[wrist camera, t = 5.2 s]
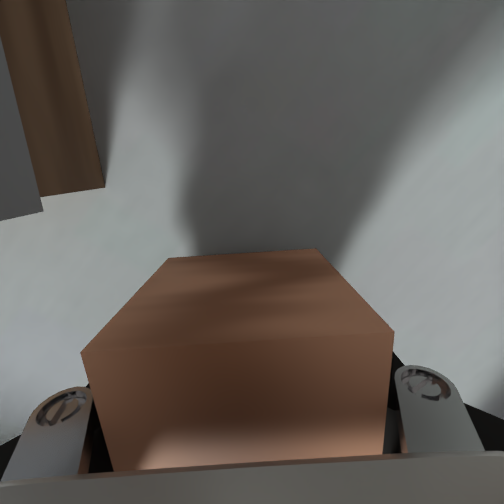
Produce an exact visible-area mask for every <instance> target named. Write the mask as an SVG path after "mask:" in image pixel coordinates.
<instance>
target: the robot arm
mask: <svg viewBox="0 0 504 504" xmlns="http://www.w3.org/2000/svg"><path fill="white" fill-rule="evenodd" d="M0 504H504V420H503V419H500V418H498V417H496V416H493V415H491V414H489V413H486V412H484V411H481V410H479V409H477V408H474V407H472V406H470V405H467V404H465V403H463V401H462V399H461V397H460V394H459V392H458V390H457V388H456V387H455V385H454V384H453V383H452V382H451V381H450V380H449V379H448V378H447V377H445V376H444V375H442V374H440V373H439V372H437V371H434V370H432V369H430V368H426V367H422V366H416V365H407V366H405V365H404V364H403V363H402V362H401V361H400V359H399V358H398V357H397V356H396V355H395V353H394V352H392V362H391V372H390V382H389V392H388V402H387V412H386V422H385V432H384V442H383V452H382V454H379V455H362V456H345V457H328V458H311V459H295V460H279V461H264V462H248V463H233V464H218V465H203V466H188V467H173V468H159V469H145V470H131V471H118V472H114V470H113V466H112V463H111V459H110V456H109V452H108V449H107V445H106V442H105V438H104V435H103V431H102V427H101V424H100V420H99V417H98V413H97V410H96V406H95V403H94V399H93V396H92V392H91V388H90V385H89V383H88V385H87V386H86V387H73V388H68V389H66V390H63V391H60V392H58V393H56V394H54V395H53V396H51V397H49V398H48V399H46V400H45V401H44V402H42V403H41V404H40V405H39V406H38V407H37V408H36V409H35V410H34V411H33V413H32V414H31V416H30V417H29V419H28V421H27V424H26V426H25V428H24V430H23V432H22V434H21V435H19V436H17V437H16V438H14V439H12V440H10V441H8V442H6V443H5V444H3V445H1V446H0Z"/></svg>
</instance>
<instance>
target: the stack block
mask: <svg viewBox="0 0 504 504" xmlns="http://www.w3.org/2000/svg"><path fill="white" fill-rule="evenodd" d="M393 342H394V331H393V330H392V329H391V328H390V327H389V325H388V324H387V323H386V322H385V321H384V320H383V319H382V318H381V317H380V316H379V315H378V314H377V313H376V312H375V311H374V310H373V308H372V307H371V306H370V305H369V304H368V303H367V302H366V301H365V300H364V299H363V298H362V297H361V296H360V295H359V294H358V293H357V292H356V290H355V289H354V288H353V287H352V286H351V285H350V284H349V283H348V282H347V281H346V280H345V279H344V278H343V277H342V276H341V275H340V274H339V272H338V271H337V270H336V269H335V268H334V267H333V266H332V265H331V264H330V263H329V262H328V261H327V260H326V259H325V258H324V257H323V255H322V254H321V253H320V252H319V251H318V250H317V249H316V248H315V249H299V250H284V251H268V252H253V253H237V254H222V255H207V256H191V257H176V258H168V259H167V260H166V261H165V262H164V263H163V265H162V266H161V267H160V268H159V269H158V270H157V271H156V272H155V273H154V274H153V275H152V276H151V277H150V278H149V279H148V281H147V282H146V283H145V284H144V285H143V286H142V287H141V288H140V289H139V290H138V291H137V292H136V293H135V294H134V296H133V297H132V298H131V299H130V300H129V301H128V302H127V303H126V304H125V305H124V306H123V307H122V308H121V309H120V310H119V312H118V313H117V314H116V315H115V316H114V317H113V318H112V319H111V320H110V321H109V322H108V323H107V324H106V325H105V327H104V328H103V329H102V330H101V331H100V332H99V333H98V334H97V335H96V336H95V337H94V338H93V339H92V340H91V341H90V343H89V344H88V345H87V346H86V347H85V348H84V349H83V350H82V351H81V352H80V353H81V357H82V360H83V364H84V367H85V371H86V374H87V378H88V381H89V385H90V388H91V392H92V396H93V399H94V403H95V406H96V410H97V413H98V417H99V420H100V424H101V427H102V431H103V435H104V438H105V442H106V445H107V449H108V452H109V456H110V459H111V463H112V466H113V470H114V472H118V471H131V470H145V469H159V468H173V467H188V466H203V465H218V464H233V463H248V462H264V461H279V460H295V459H311V458H328V457H345V456H362V455H379V454H382V452H383V442H384V432H385V422H386V412H387V402H388V392H389V382H390V372H391V362H392V352H393Z"/></svg>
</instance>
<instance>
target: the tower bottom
mask: <svg viewBox="0 0 504 504" xmlns="http://www.w3.org/2000/svg"><path fill="white" fill-rule="evenodd" d="M0 37H1V41H2V45H3V49H4V53H5V57H6V61H7V65H8V70H9V74H10V78H11V82H12V86H13V90H14V94H15V98H16V102H17V106H18V110H19V114H20V118H21V122H22V126H23V130H24V134H25V138H26V142H27V146H28V150H29V154H30V158H31V162H32V167H33V171H34V175H35V179H36V183H37V187H38V191H39V195H40V197H44V196H51V195H58V194H65V193H71V192H78V191H85V190H91V189H98V188H105V184H104V179H103V175H102V170H101V165H100V161H99V156H98V151H97V146H96V142H95V137H94V132H93V128H92V123H91V118H90V114H89V109H88V104H87V99H86V95H85V90H84V85H83V81H82V76H81V71H80V67H79V62H78V57H77V52H76V48H75V43H74V38H73V34H72V29H71V24H70V19H69V15H68V10H67V5H66V1H65V0H0Z"/></svg>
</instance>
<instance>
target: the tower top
mask: <svg viewBox="0 0 504 504" xmlns="http://www.w3.org/2000/svg"><path fill="white" fill-rule="evenodd" d="M38 212H43V207H42V203H41V199H40V195H39V191H38V187H37V183H36V179H35V175H34V171H33V167H32V162H31V158H30V154H29V150H28V146H27V142H26V138H25V134H24V130H23V126H22V122H21V118H20V114H19V110H18V106H17V102H16V98H15V94H14V90H13V86H12V82H11V78H10V74H9V70H8V65H7V61H6V57H5V53H4V49H3V45H2V41H1V37H0V221H2V220H7V219H11V218H16V217H20V216H25V215H29V214H34V213H38Z"/></svg>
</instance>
